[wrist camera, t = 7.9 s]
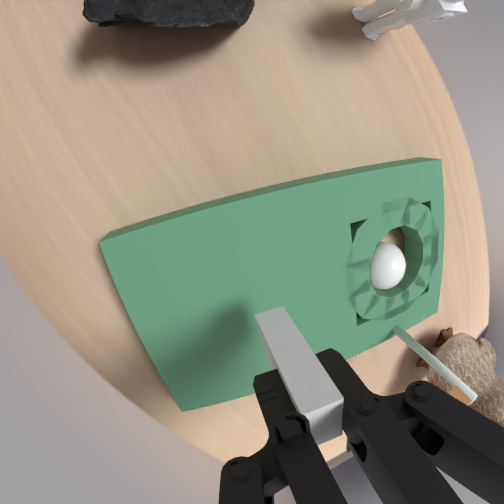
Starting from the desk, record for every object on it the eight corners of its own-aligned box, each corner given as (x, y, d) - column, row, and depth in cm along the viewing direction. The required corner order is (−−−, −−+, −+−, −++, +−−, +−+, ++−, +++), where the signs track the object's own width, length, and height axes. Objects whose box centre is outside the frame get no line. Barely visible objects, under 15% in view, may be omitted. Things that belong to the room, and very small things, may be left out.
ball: (358, 254, 18) (408, 253, 16) (360, 235, 21) (403, 234, 19) (360, 298, 19) (406, 298, 18) (363, 275, 22) (403, 274, 20)
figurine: (411, 387, 29) (477, 458, 15) (394, 355, 26) (482, 446, 12) (457, 339, 29) (529, 397, 15) (449, 297, 25) (545, 363, 11)
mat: (109, 231, 16) (4, 352, 4) (420, 157, 19) (551, 178, 8) (181, 391, 21) (194, 526, 9) (421, 301, 24) (510, 366, 13)
